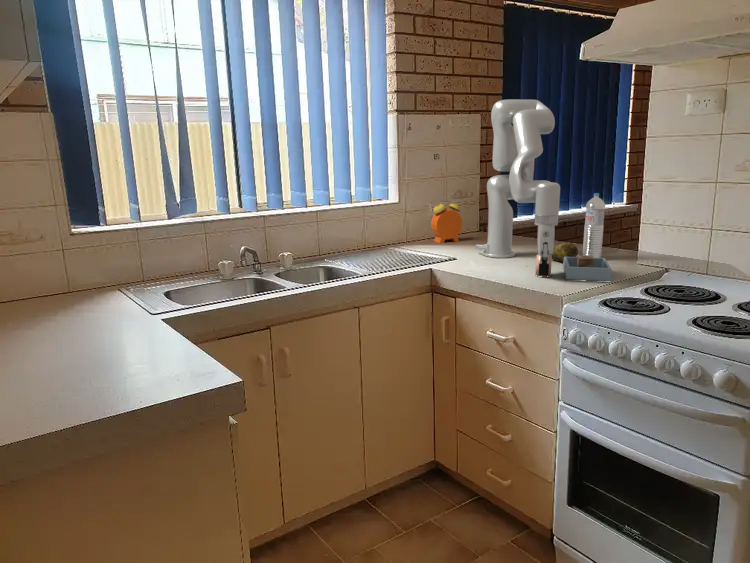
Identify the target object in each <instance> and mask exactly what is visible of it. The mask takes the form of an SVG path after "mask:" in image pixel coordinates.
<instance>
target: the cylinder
mask: <svg viewBox="0 0 750 563" xmlns="http://www.w3.org/2000/svg"><path fill="white" fill-rule="evenodd" d="M542 257H543V256H542ZM535 259H536V261H535V273H534V274H535V276H536V275H537V276H536V277H538V276H542V277H541V278H548V277H547V276H544V275H539V263H540V255H539V254H538V253H537V254H536V258H535ZM552 262H553V259H552V255H549V274H548V276H550V277H551V275H552V273H551V272H552V264H553V263H552Z"/></svg>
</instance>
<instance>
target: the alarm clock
mask: <svg viewBox="0 0 750 563" xmlns="http://www.w3.org/2000/svg"><path fill="white" fill-rule="evenodd" d="M443 198H448V197H443ZM449 208H450V209H449ZM432 211H433V216H432V218H431V222H430V227H431V230H432V233H433V235H435V238H434V239H433V241H434V242H436V243H439V244H443V243H445V241H446V240H449V241H452V242H459V241H460V240H459V238H458V235H459V234H460V233H461V230H462V228H463V219H462V217H461V215H460V213H459V212H461V207H460V206H459V205H458V204H457V203H449V205H448V206H445V204H443V203H439V204H436V206H435V207H433V210H432Z"/></svg>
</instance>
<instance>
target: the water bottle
mask: <svg viewBox="0 0 750 563" xmlns="http://www.w3.org/2000/svg"><path fill="white" fill-rule="evenodd" d="M599 196H600V193H599V192H595V193H593V197H591V199H589V200H588V201H587V202H586V205H585V220H584V230H583V242H582V243H583V244H582V255H581V256H593V257H594V258H602V250H603V249H602V248H603V247H602V246H603V239H604V238H603V237H604V227H605V226H604V221H605V210H606V203H605V201H604V200H603V199H602V198H600V197H599Z"/></svg>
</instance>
